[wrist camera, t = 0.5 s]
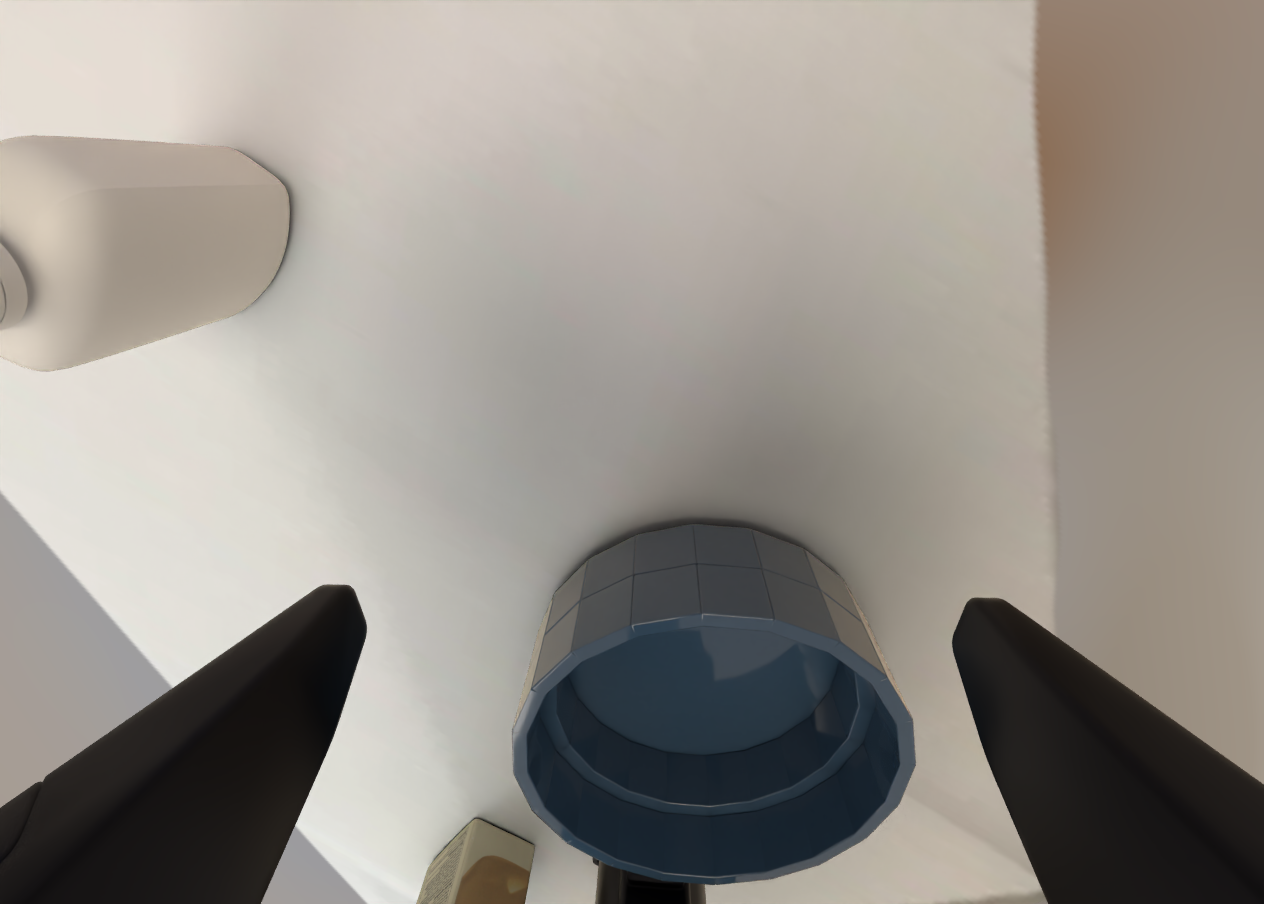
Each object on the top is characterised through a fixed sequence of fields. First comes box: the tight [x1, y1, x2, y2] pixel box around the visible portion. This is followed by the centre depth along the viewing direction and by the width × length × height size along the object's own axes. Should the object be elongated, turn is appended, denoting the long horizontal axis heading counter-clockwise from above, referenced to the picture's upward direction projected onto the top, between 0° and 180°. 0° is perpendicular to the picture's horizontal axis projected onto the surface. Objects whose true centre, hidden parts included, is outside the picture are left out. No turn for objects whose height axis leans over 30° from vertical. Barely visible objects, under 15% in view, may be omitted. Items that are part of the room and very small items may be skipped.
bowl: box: [512, 524, 916, 885], centre depth 25 cm, size 15×15×6 cm
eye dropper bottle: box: [0, 135, 290, 372], centre depth 15 cm, size 4×6×12 cm
